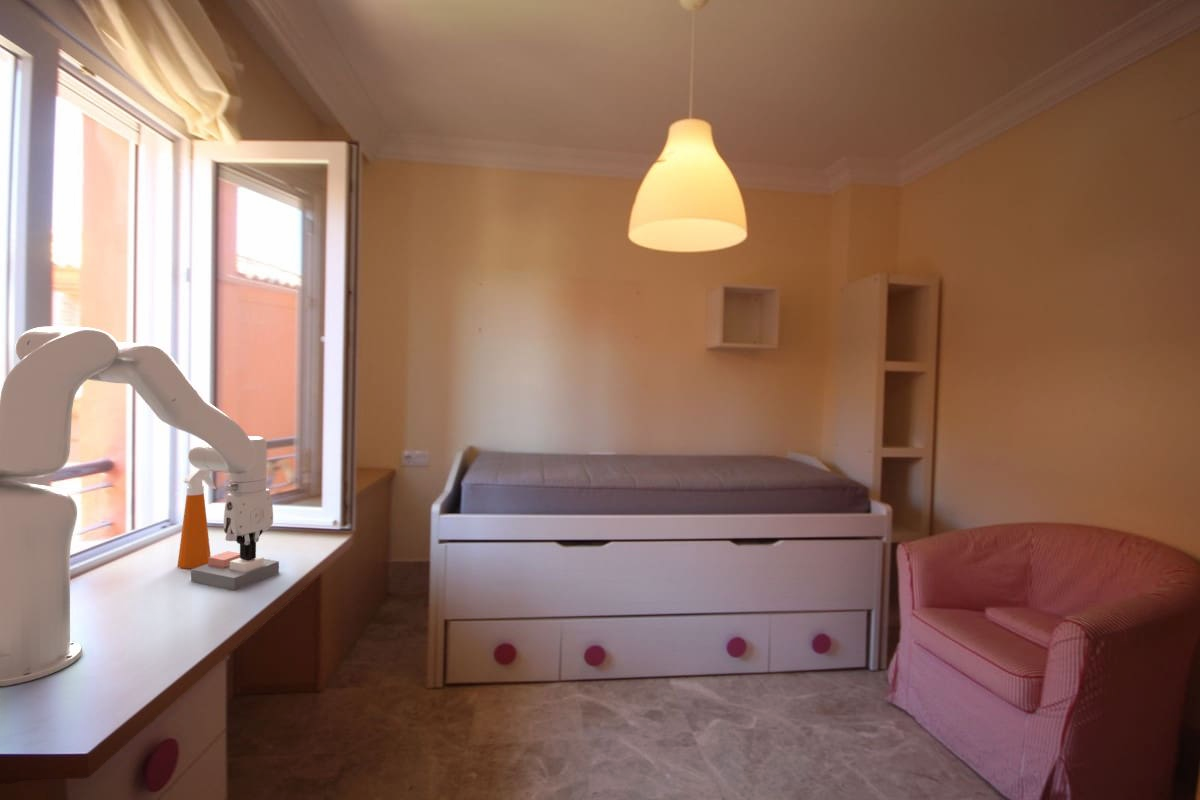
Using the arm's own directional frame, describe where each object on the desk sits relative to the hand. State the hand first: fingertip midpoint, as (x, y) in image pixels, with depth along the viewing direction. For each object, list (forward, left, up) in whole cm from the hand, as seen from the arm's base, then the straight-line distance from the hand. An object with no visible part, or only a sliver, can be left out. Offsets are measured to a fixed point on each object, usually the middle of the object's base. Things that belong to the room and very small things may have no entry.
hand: (247, 558), depth 129 cm
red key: (0, +7, -3) cm, 7 cm away
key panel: (0, +3, -5) cm, 6 cm away
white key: (0, 0, -3) cm, 3 cm away
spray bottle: (+4, +21, -5) cm, 22 cm away
